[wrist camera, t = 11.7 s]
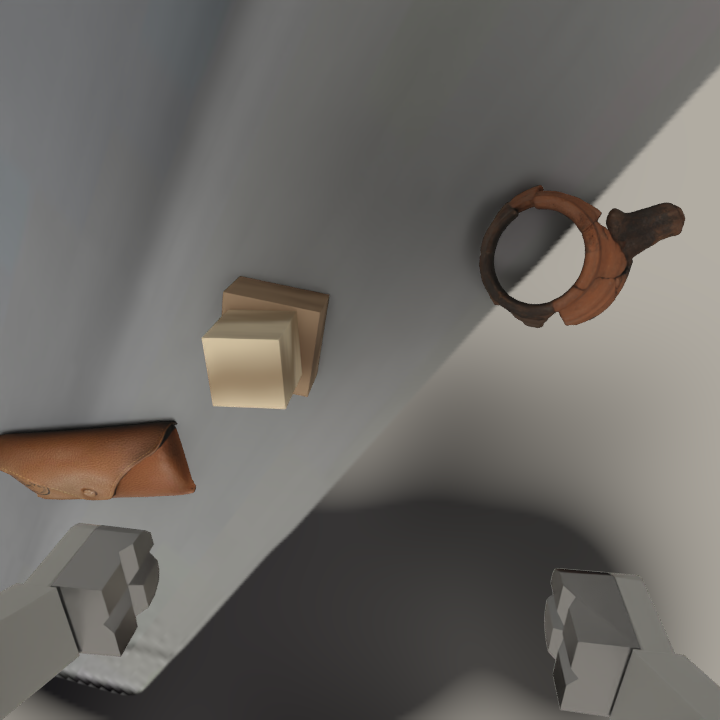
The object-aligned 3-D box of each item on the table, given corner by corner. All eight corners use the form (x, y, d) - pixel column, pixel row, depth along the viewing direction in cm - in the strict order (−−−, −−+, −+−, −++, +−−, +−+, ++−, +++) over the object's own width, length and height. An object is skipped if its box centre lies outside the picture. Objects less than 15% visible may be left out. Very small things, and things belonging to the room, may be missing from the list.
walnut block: (241, 274, 42) (223, 291, 38) (330, 293, 42) (320, 312, 38) (235, 354, 45) (217, 377, 42) (317, 372, 45) (307, 396, 41)
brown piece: (538, 341, 42) (501, 356, 35) (488, 230, 43) (442, 223, 36) (712, 269, 35) (708, 270, 28) (648, 138, 36) (629, 109, 29)
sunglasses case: (36, 502, 55) (-21, 515, 48) (35, 432, 56) (-23, 436, 49) (202, 492, 52) (164, 505, 45) (198, 418, 52) (160, 420, 46)
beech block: (228, 309, 39) (201, 337, 34) (296, 311, 38) (278, 339, 34) (236, 371, 41) (213, 405, 37) (302, 374, 41) (285, 409, 36)
